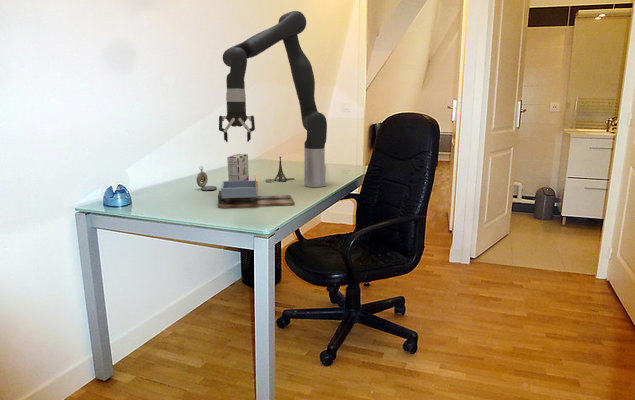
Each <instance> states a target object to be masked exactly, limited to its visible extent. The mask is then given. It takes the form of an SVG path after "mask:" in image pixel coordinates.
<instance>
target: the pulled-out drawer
mask: <svg viewBox="0 0 635 400" xmlns="http://www.w3.org/2000/svg"><path fill="white" fill-rule="evenodd" d="M254 179H255V180H249V181H229V180H225V181H224V180H223V181H222V183H221V187H220V191H221V198H225V199H224V200H225V202H226V203H229V202H231V198H247V197H249V200H250V202H254V201H255V200H256V198H255V197H258V196H259V180H258V175H257V174H256V173H255V174H254Z"/></svg>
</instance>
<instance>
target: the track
mask: <svg viewBox="0 0 635 400" xmlns="http://www.w3.org/2000/svg"><path fill="white" fill-rule="evenodd" d="M255 198H256V200H255V201H254V202H250V200H249V197H247V198H231V202H229V203H226V202H225V200H224V199H225V198H221V190H218V195H217V208H218V209H224V208H226V209H227V208H228V209H229V208H230V209H231V208H251V207H252V208H254V207H255V208H257V207H260V208H261V207H282V206H283V207H284V206H286V207H288V206H291V207H292V206H295V205H296V203H295V201H294V199H293V196H292V195H290V194H284V195H277V194H276V195H258V197H255Z"/></svg>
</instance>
